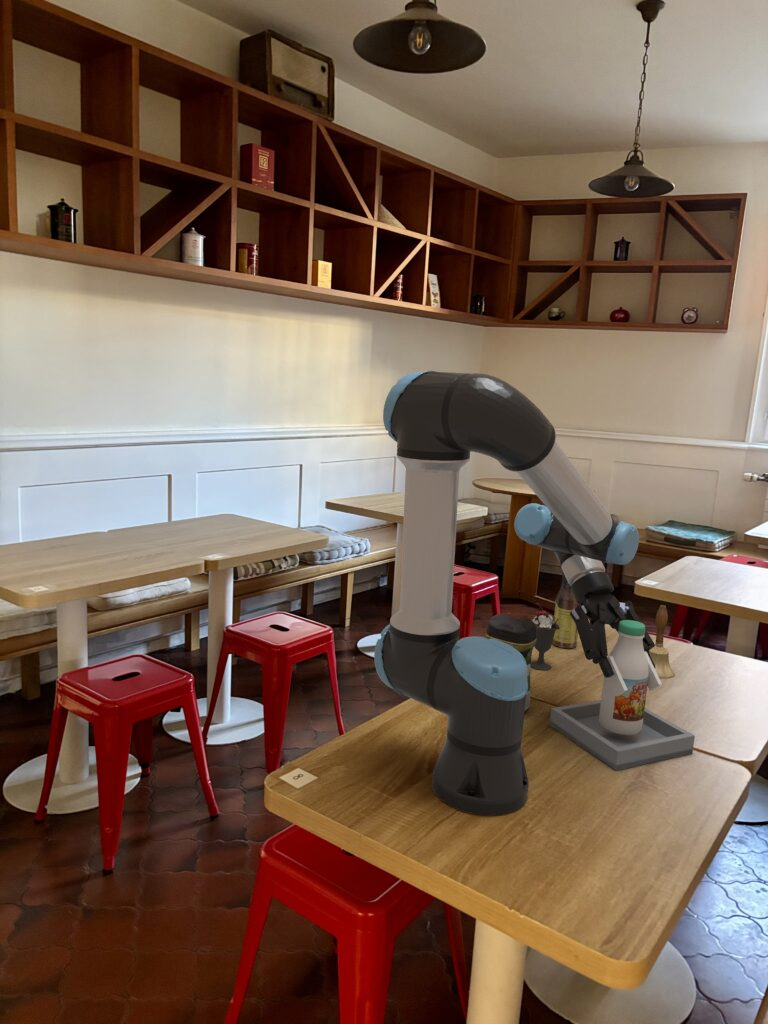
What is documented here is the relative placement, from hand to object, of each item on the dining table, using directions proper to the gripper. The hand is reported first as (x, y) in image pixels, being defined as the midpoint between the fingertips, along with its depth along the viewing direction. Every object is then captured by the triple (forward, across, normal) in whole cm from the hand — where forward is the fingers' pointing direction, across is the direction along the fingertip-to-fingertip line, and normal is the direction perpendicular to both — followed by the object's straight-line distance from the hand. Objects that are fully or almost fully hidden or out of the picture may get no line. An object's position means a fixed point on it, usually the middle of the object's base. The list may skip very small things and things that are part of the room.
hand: (639, 690), depth 135 cm
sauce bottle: (-26, -24, -42) cm, 55 cm away
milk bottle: (+4, 0, -9) cm, 9 cm away
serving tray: (+5, 0, -10) cm, 12 cm away
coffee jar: (-8, +12, -24) cm, 28 cm away
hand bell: (-11, -34, -27) cm, 45 cm away
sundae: (-19, -8, -35) cm, 41 cm away
